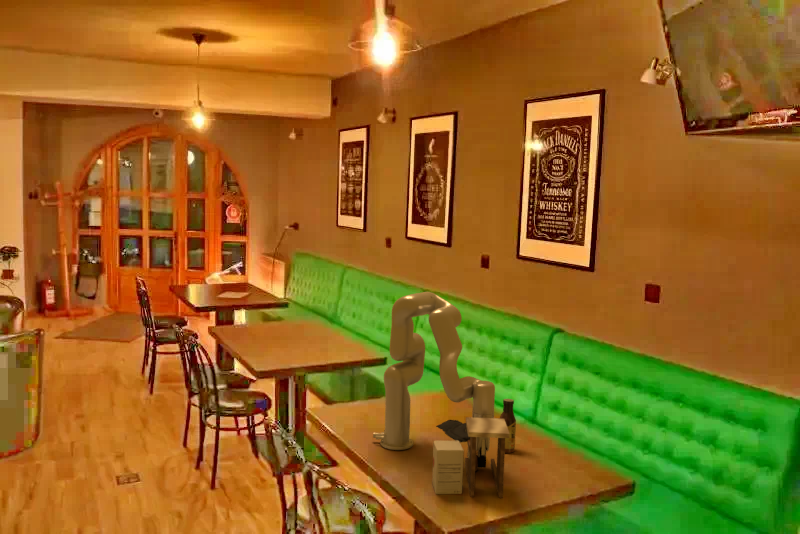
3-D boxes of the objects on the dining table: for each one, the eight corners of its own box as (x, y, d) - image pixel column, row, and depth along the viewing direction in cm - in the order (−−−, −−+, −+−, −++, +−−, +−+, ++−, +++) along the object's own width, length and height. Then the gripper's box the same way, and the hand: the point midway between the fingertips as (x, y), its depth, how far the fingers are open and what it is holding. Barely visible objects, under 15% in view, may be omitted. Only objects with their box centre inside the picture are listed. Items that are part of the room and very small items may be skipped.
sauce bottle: (514, 454, 259) (516, 403, 257) (497, 453, 260) (499, 401, 258) (514, 448, 266) (517, 398, 263) (498, 446, 267) (500, 397, 265)
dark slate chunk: (460, 424, 294) (460, 413, 293) (491, 440, 275) (492, 429, 274) (429, 429, 286) (430, 418, 285) (460, 447, 267) (461, 435, 266)
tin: (477, 474, 240) (478, 451, 239) (468, 474, 240) (469, 451, 239) (474, 458, 255) (475, 436, 254) (466, 458, 255) (466, 436, 254)
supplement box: (431, 482, 232) (432, 439, 230) (457, 482, 232) (459, 439, 231) (435, 494, 223) (436, 450, 221) (462, 494, 223) (464, 449, 222)
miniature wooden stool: (466, 496, 222) (468, 432, 220) (461, 464, 249) (463, 406, 246) (506, 498, 221) (509, 433, 219) (497, 465, 248) (500, 407, 246)
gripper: (470, 409, 249) (468, 458, 251) (474, 423, 234) (472, 475, 236) (491, 410, 249) (489, 459, 251) (496, 423, 234) (494, 475, 236)
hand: (481, 466), depth 244 cm, fingers closed
